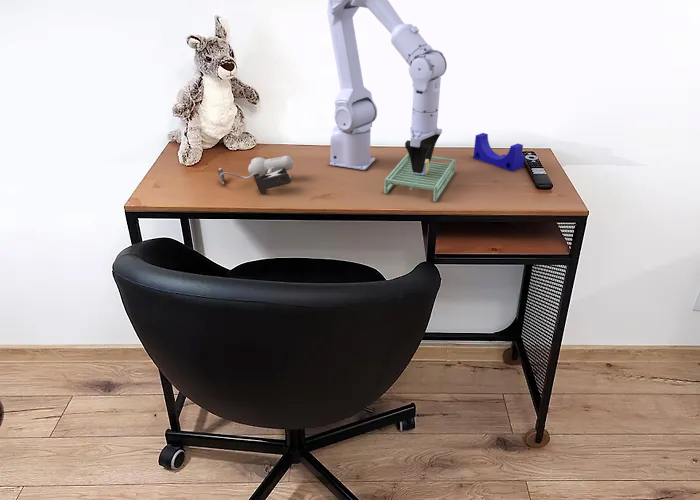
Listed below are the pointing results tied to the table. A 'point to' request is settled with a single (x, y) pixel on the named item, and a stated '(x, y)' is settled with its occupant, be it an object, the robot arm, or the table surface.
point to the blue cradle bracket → (508, 161)
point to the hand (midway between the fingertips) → (421, 167)
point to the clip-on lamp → (266, 172)
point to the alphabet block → (426, 168)
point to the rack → (421, 176)
